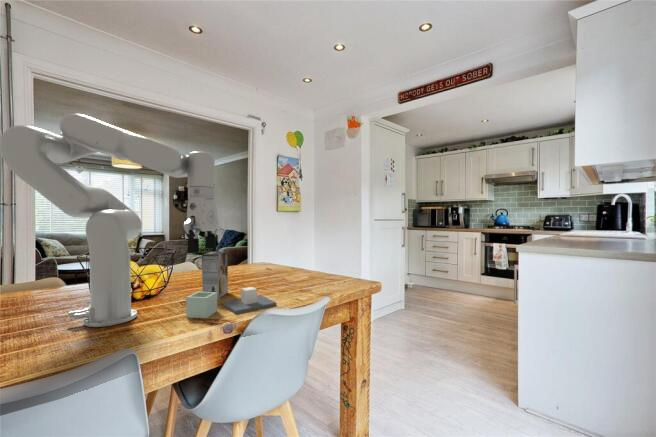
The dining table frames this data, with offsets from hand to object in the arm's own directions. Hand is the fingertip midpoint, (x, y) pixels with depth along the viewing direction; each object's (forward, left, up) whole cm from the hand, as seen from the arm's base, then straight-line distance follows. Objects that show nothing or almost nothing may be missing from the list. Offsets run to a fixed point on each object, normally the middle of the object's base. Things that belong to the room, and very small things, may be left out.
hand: (202, 250), depth 92 cm
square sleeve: (0, 0, -19) cm, 19 cm away
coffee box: (+10, +19, -20) cm, 29 cm away
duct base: (+15, 0, -19) cm, 24 cm away
